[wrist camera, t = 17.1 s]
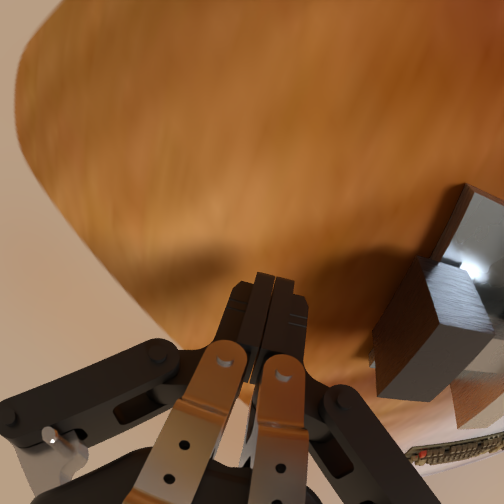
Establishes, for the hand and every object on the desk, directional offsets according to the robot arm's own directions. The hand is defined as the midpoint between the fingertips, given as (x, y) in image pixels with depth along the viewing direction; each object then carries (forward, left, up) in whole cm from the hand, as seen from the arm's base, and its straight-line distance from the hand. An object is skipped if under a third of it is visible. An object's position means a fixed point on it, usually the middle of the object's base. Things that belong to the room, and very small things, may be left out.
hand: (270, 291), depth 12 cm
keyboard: (+21, +32, -4) cm, 39 cm away
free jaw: (0, +11, -2) cm, 11 cm away
